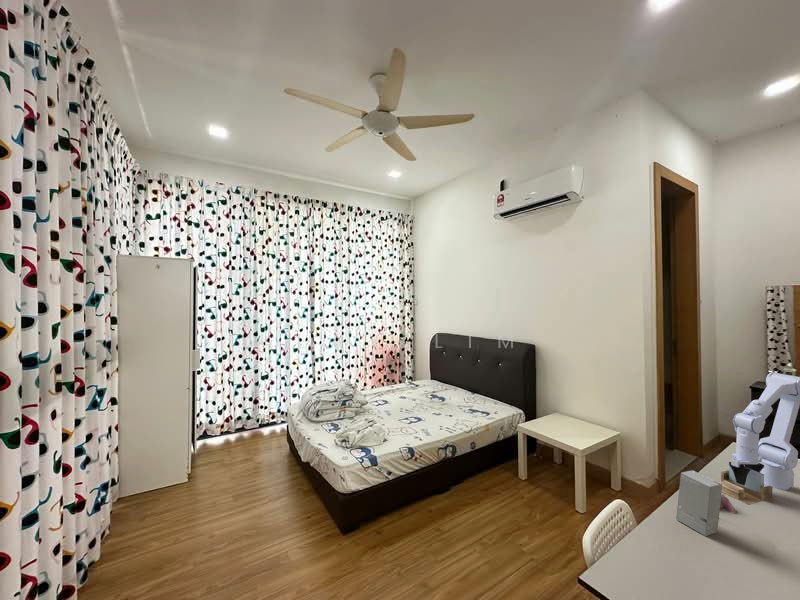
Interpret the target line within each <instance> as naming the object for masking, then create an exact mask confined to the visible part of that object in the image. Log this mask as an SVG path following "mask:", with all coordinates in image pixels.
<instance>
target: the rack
mask: <svg viewBox="0 0 800 600" xmlns="http://www.w3.org/2000/svg"><path fill="white" fill-rule="evenodd" d="M720 476H721V477H720V481H724V480H725V481H727V482H729V483H732V484H734V485H736V486H739V487H741V488H743V489H744V494H745V498H741V499H737V498H734V497H732V496H730V495H728V494H726V493H724V492H722V493H721V494H723V495H727V496H729V497H731V498H733V499H735V500H737V501H739V502H741V503H744V504H746V505H753V504H755V503H760V502H762V501H763V502H764V501H766V500H770V499H773V490H774V489H773V487H772V486H768V485H766V486H764V487H763V488H760V493H758V492H755V491H753V490H751V489H748V488H746V487H744V486H742V485H739V484H737V483H735V482H732V481H730V480H729V469H728V470H724V471H721V472H720Z"/></svg>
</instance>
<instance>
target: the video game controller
mask: <svg viewBox="0 0 800 600" xmlns="http://www.w3.org/2000/svg"><path fill="white" fill-rule="evenodd" d="M721 508H722V509H723V508H725V509H727V510H728V511H729V512H731V513H732V514H736V515H737V511H736V509H735V507H734V505H732V502H731V501H730V500H729V498H728V497H726V496H725V494H724V493H721V502H720V509H721Z"/></svg>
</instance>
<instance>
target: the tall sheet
mask: <svg viewBox="0 0 800 600" xmlns="http://www.w3.org/2000/svg"><path fill="white" fill-rule="evenodd" d="M728 466H729V468H728V470H729V480H730V481H732V482H735V483H737V482H736V479H735V476H734V473H733V470H732V468H731V467H730V465H729V464H728ZM748 469H749V468H748ZM737 484H739V483H737ZM739 485H741V484H739ZM742 486H744V487H746V488H748V489H751V490H753V491H755V492H758V493H760V488H763V487H765V484H764V474H762V473H761V472H760V473H759V472H757V471H754V470H751V471H750V472H749V473H748V475H747V478H746V483H745V485H742Z"/></svg>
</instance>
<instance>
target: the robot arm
mask: <svg viewBox="0 0 800 600" xmlns="http://www.w3.org/2000/svg"><path fill="white" fill-rule="evenodd" d="M765 385H766V387H765V389H764V390H763V392H762V393H761V395H760V397H759V398H758V399H754V400H752V401H750V403H749V404H748V405H747V406H746V408H745V409H744V410H743V411H742V412H739V413H735V415H734V416H733V419H732V423H733V426H734V432H736V439H735V440H736V443H735V444H736V446H735V447H736V448H735V452H734V453H732V454H731V455H732V457H733V458H732V459H731V460H730V461H729V462H728V466H729V465H730V467H731V468H732V470H733V473H734V476H735V479H736V482H737V483H739V484H741V485H745V483H746V478H747V475H748V473H749V472H750V471H751V470H754V471H757V472H759V473H762V474H764V485H766V486H772V487H773V488H774V489H777V490H783V491H789V489H790V488H793V489H794V487H795V486H794V484H795V482H794V481H795V480H794V479H795V472H794V470H793V469H795V468H796V467H797V466H798V463H799V459H798V457H799V456H798V455H799V451H798V450H797V448H795V447H794V445H792V443H790V441H791V437H792V434H793V430H794V426H795V424H796V420H797V416H798V412H799V409H800V376H796V375H789V374H786V373H778V372H774V371H772V372H770V373H768V374H767V375H766V378H765ZM779 399H780V401H779V403H778V407H777V411H776V414H775V417H774V421H773V425H772V428H771V432H770V434H769V436H766V437H762V438H760V433H762V431H763V430H764V428H765V424H766V419H767V418H768V417H769V416H770V414H771V413H772V412H773V407H772V405H774V404H775V403H776V402H777V401H778V400H779ZM748 468H749V469H748Z"/></svg>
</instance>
